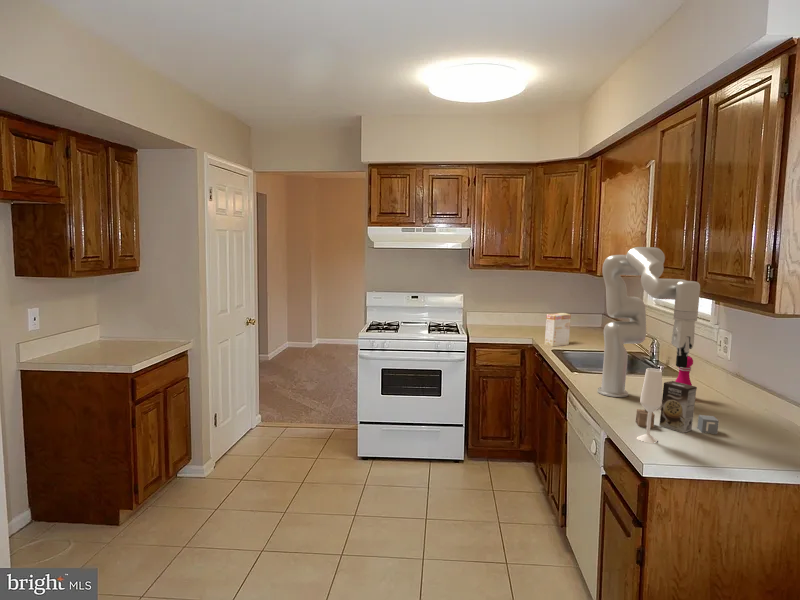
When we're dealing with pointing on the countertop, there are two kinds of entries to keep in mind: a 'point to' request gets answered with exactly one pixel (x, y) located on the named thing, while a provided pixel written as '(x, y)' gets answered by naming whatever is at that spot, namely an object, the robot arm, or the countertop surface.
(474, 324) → the countertop surface
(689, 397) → the coffee box
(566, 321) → the coffeecake box
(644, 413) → the walnut block one
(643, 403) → the champagne flute
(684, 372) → the pepper mill
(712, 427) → the slate block seven
